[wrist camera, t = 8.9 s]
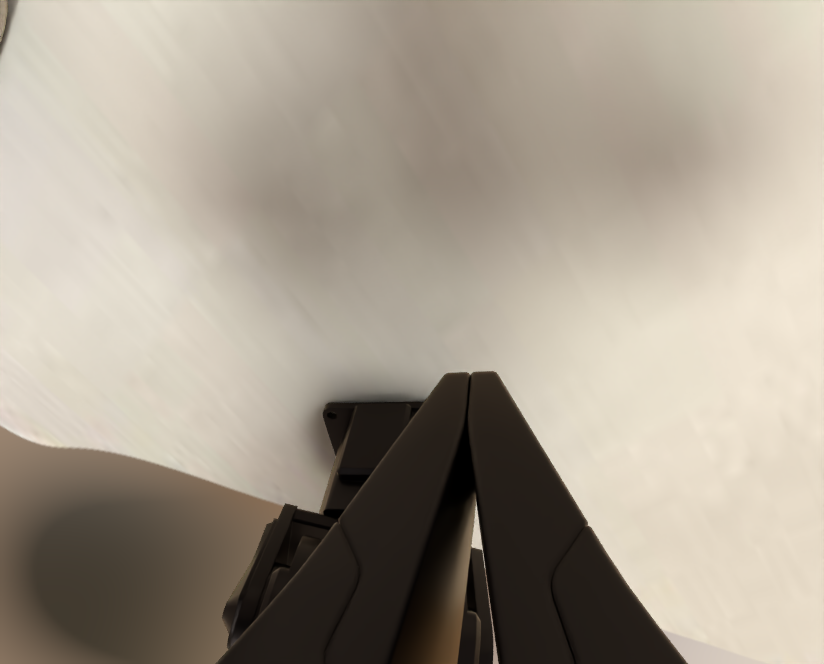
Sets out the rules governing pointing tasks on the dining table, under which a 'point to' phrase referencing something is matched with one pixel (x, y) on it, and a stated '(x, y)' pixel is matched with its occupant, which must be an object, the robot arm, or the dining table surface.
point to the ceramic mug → (3, 16)
